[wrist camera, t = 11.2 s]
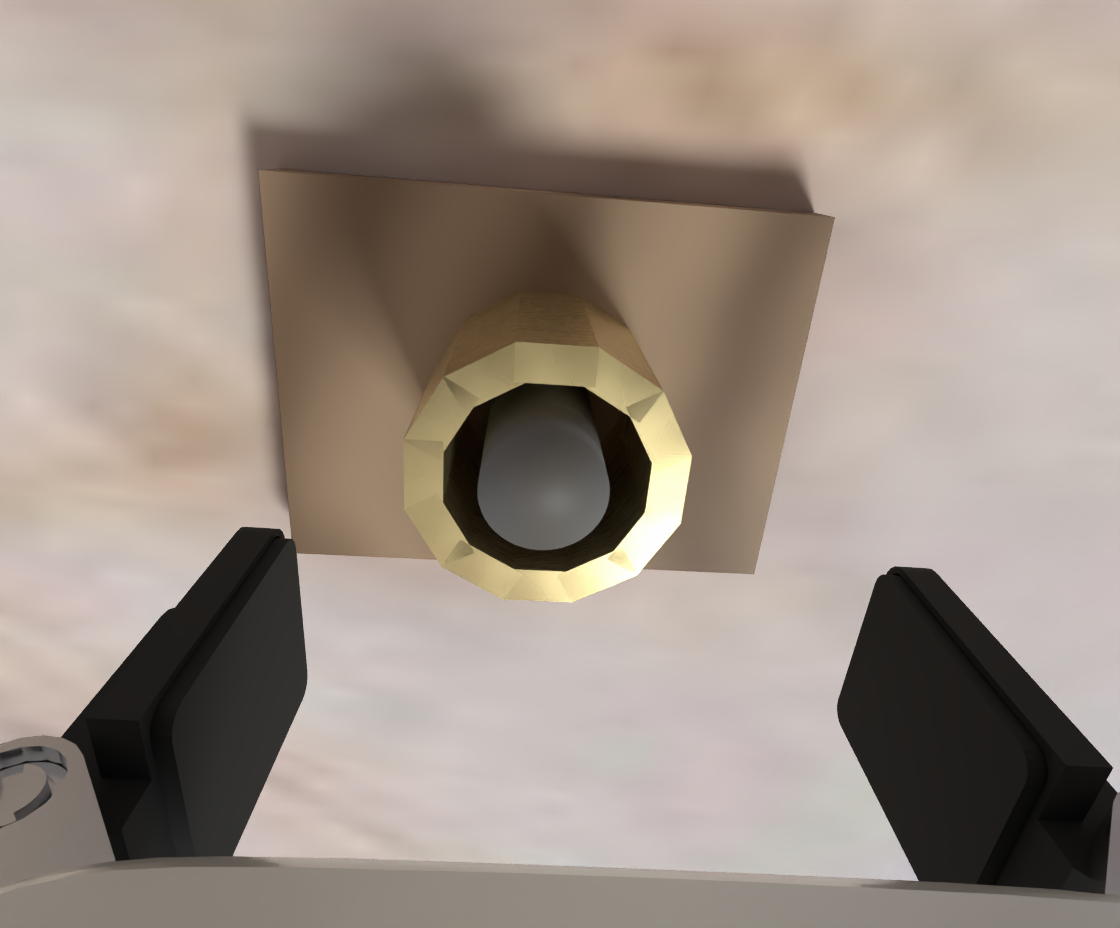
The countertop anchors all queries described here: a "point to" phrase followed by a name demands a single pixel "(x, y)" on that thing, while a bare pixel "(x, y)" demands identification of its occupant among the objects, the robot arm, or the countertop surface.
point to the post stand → (530, 409)
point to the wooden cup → (628, 450)
